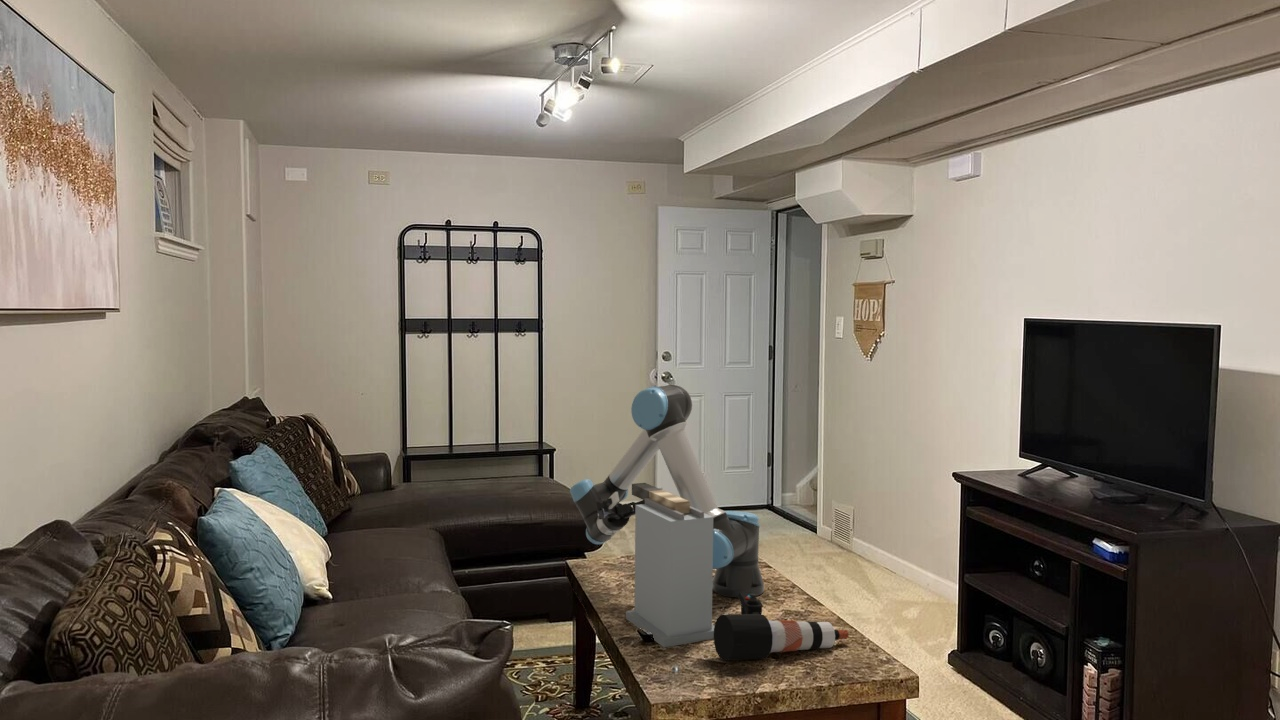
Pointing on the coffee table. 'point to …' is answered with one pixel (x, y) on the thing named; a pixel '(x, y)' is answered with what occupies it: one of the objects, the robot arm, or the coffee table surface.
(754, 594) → the controller
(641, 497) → the bar
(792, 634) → the black white tapered cylinder
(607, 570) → the coffee table surface
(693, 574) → the post
